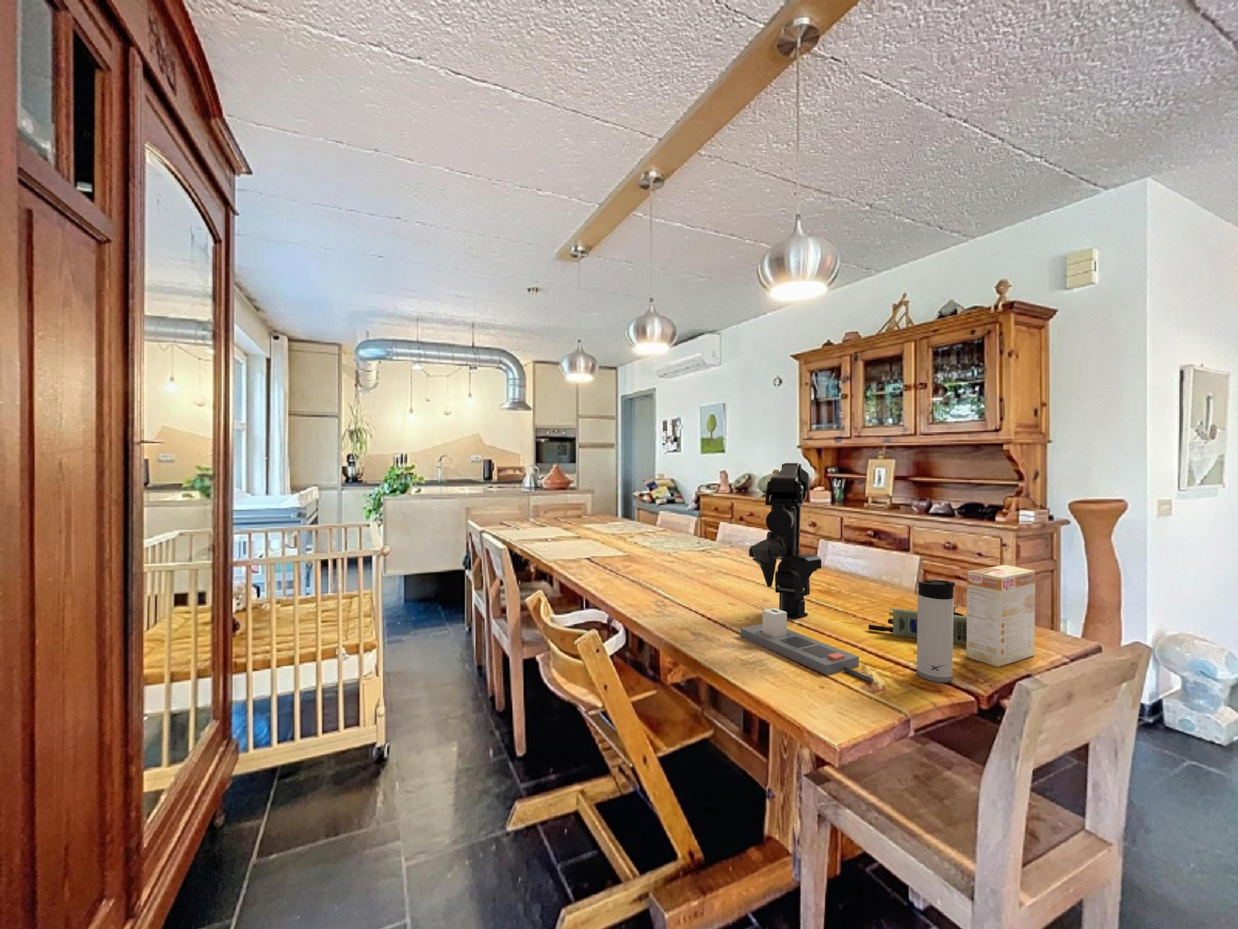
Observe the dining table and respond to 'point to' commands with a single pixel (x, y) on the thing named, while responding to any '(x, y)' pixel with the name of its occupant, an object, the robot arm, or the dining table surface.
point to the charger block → (774, 623)
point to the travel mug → (935, 630)
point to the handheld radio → (907, 625)
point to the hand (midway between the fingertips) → (783, 591)
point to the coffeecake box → (1000, 614)
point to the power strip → (806, 651)
